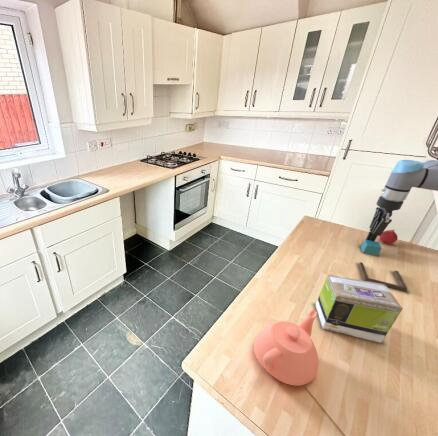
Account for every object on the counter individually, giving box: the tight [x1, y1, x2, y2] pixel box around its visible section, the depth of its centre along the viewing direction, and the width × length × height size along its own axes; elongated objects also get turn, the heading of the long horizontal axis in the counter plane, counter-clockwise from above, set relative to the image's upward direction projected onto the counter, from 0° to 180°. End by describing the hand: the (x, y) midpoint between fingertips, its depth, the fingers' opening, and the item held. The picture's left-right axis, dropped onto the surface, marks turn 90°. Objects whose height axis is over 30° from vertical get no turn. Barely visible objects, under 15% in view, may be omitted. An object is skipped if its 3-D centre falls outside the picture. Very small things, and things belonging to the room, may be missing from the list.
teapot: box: [253, 309, 319, 386], centre depth 64 cm, size 22×15×12 cm
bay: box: [358, 261, 408, 293], centre depth 94 cm, size 11×12×2 cm
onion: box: [379, 228, 398, 245], centre depth 112 cm, size 6×6×8 cm
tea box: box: [315, 274, 403, 343], centre depth 73 cm, size 15×10×15 cm, turn 70°
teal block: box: [360, 239, 382, 257], centre depth 107 cm, size 5×5×5 cm
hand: (367, 245), depth 111 cm, fingers closed
